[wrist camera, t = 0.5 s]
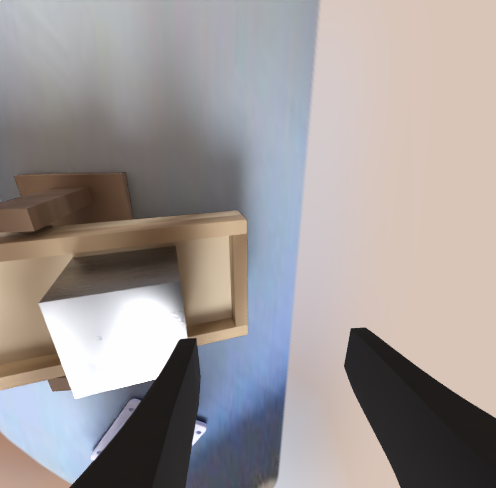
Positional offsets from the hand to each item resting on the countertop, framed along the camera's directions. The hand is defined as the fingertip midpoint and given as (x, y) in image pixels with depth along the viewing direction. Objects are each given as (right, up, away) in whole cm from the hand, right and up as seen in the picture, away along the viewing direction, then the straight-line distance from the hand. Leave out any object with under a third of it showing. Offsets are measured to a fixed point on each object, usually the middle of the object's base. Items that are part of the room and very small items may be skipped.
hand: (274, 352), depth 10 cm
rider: (-7, +2, +4) cm, 9 cm away
